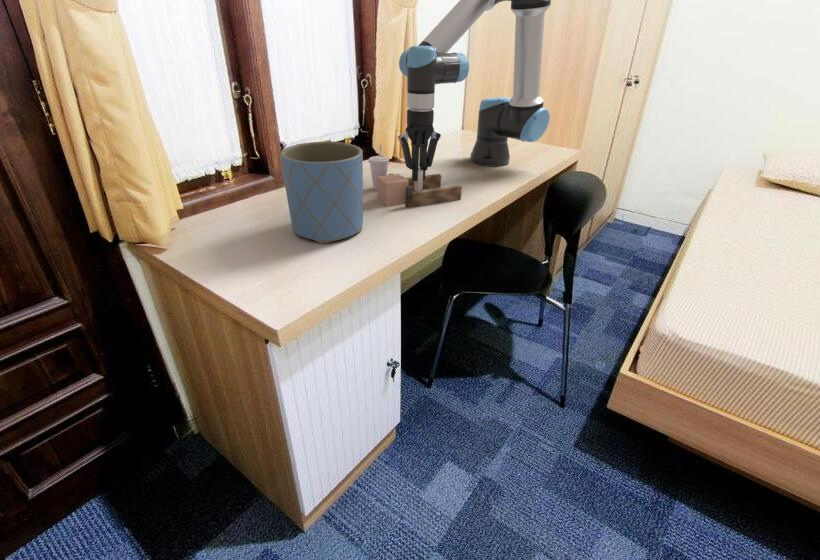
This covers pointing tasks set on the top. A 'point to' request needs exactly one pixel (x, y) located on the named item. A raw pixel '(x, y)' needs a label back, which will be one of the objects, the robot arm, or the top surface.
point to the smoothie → (378, 167)
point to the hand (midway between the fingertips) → (418, 190)
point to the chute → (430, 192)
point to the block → (391, 189)
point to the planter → (324, 189)
